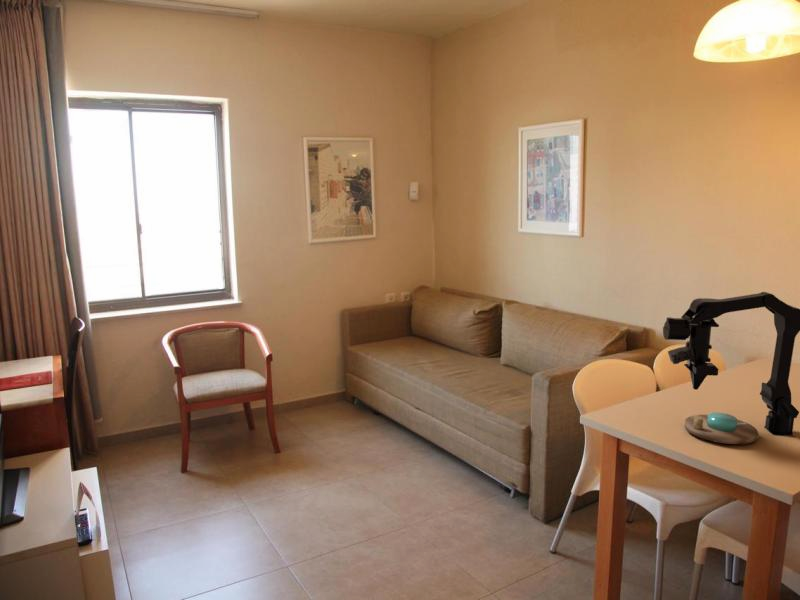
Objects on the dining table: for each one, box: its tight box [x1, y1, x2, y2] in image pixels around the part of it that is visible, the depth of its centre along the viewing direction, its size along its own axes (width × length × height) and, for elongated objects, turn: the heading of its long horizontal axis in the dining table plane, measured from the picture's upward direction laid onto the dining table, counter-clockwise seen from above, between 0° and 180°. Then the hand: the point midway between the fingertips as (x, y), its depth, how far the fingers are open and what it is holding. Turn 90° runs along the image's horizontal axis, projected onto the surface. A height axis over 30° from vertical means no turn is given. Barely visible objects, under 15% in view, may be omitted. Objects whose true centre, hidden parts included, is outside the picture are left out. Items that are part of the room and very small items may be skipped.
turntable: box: [684, 414, 759, 445], centre depth 192 cm, size 20×20×4 cm
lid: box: [707, 412, 738, 432], centre depth 192 cm, size 8×8×3 cm
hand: (695, 389), depth 195 cm, fingers closed
